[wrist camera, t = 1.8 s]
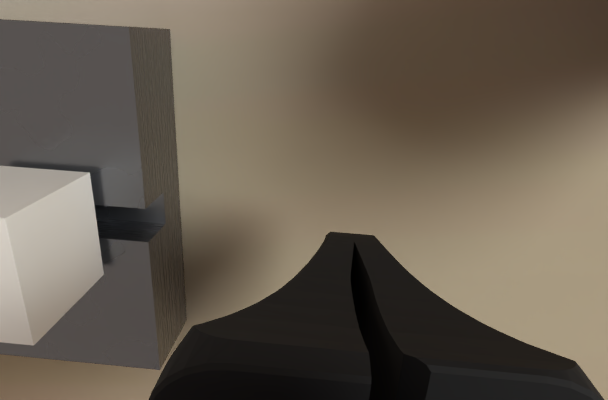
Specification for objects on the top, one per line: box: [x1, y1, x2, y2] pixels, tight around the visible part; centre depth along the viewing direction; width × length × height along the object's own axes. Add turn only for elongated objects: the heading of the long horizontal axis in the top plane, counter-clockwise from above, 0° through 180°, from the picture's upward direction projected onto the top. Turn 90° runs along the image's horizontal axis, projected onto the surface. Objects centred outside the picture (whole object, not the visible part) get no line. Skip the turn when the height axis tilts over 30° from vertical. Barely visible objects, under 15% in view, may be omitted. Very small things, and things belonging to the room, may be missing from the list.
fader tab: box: [0, 166, 104, 346], centre depth 12 cm, size 4×3×5 cm
